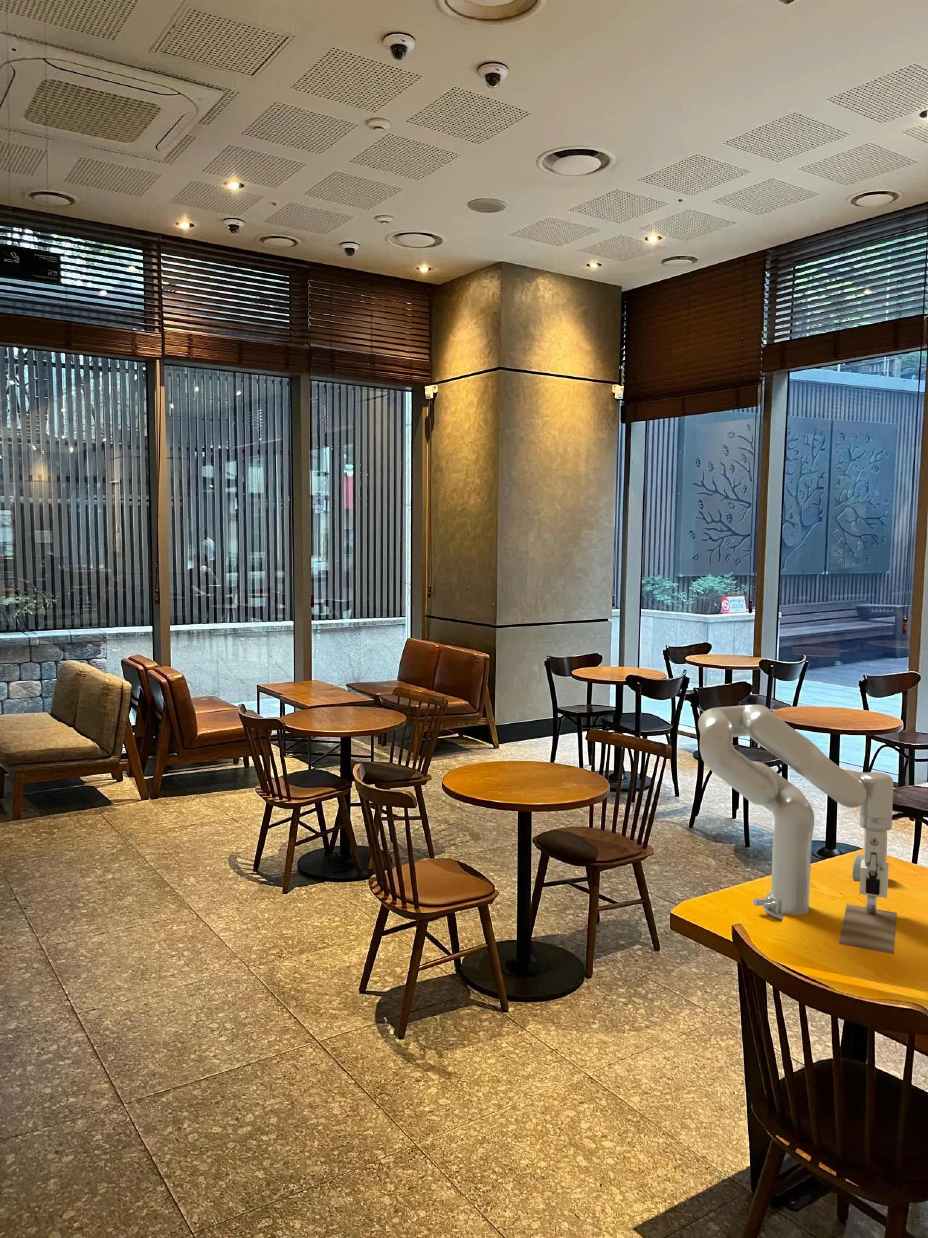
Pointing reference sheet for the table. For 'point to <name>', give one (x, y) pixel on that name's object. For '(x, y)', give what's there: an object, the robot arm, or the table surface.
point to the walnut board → (869, 929)
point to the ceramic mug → (857, 867)
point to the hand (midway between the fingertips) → (873, 888)
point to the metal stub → (871, 904)
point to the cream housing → (882, 876)
